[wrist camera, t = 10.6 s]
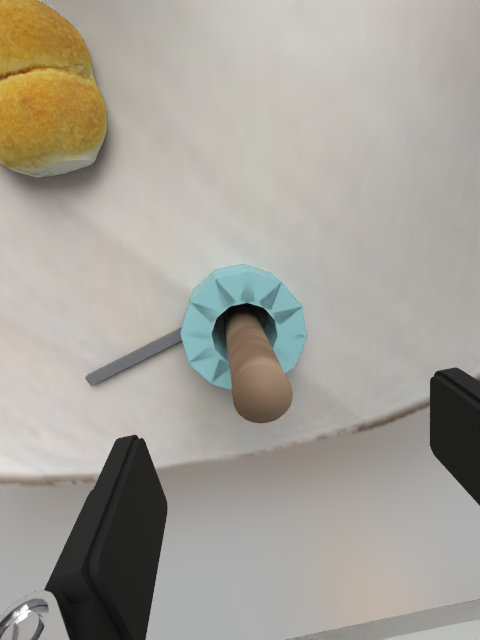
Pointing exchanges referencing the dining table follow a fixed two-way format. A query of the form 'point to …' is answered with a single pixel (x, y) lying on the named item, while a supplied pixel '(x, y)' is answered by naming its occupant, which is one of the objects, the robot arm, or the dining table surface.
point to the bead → (235, 289)
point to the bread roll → (46, 93)
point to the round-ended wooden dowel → (254, 368)
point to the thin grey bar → (134, 357)
